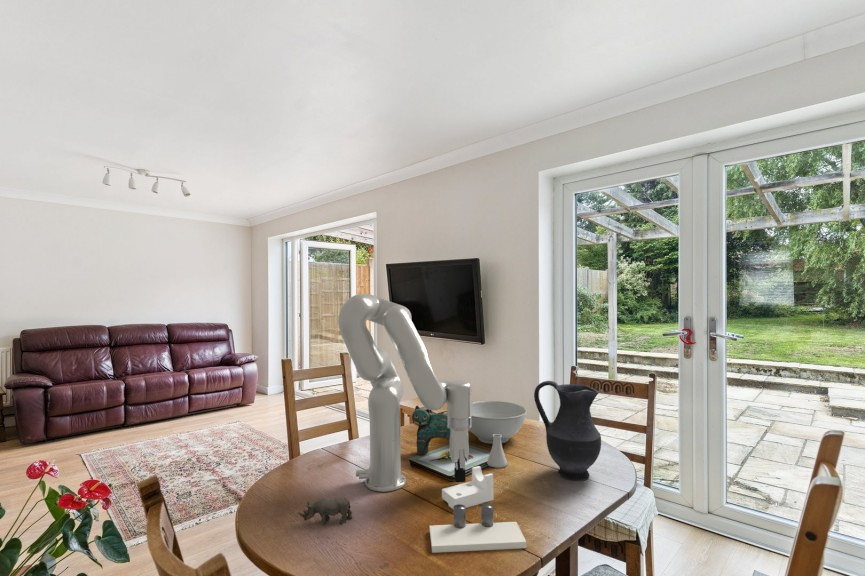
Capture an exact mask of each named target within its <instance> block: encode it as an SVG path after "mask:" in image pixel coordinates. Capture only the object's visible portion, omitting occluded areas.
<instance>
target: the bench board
mask: <svg viewBox="0 0 865 576" xmlns="http://www.w3.org/2000/svg"><path fill="white" fill-rule="evenodd" d="M429 536H430V544H431V545H430V546H431V553H433V554H435V553H455V552H457V553H458V552H475V551H495V550H497V551H498V550H513V549H514V550H515V549H518V550H519V549H527V540H526V538H525V536H524V534H523V533H522V530H521V527H520V526H519V524H518V522H517V521H503V522H493V526H492V527H484V526H482V524H481V522H480V523H478V522H477V523H466V526H465V527H464V528H456V527H454V524H438V525H437V524H436V525H429Z"/></svg>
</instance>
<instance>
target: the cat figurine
mask: <svg viewBox="0 0 865 576" xmlns="http://www.w3.org/2000/svg"><path fill="white" fill-rule="evenodd" d="M411 420H412V423H413V424H414V425H416V426H417V431H416V442H415V443H416V455H417V456H426V455H427V454H428V453H429V446H430V445H429V444H430V442H431V440H432V439H437V438H438V439H446V440H448V441H450V428H448V427H447V410H445V411H440V412H435V411H434V410H429V409H427V408H426V407H425V406H421V407H419V406H418V405H416V406H415V408H414V411H413V412H412V414H411Z"/></svg>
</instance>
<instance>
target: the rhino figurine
mask: <svg viewBox="0 0 865 576" xmlns="http://www.w3.org/2000/svg"><path fill="white" fill-rule="evenodd" d="M305 506H306V508H307V510H304V509H303V510H302V511H303V513H302V512H300V511H298V512H297V514H299V516H300V517H302V518H303V520H304V521H305V522H306V521H308V520H310V519H312V518H313V517H314V516H315V514H319V515H320V516H319V517H320V518H321V521H320V523H319V525H320V526H324V525H326V524H327V522H326V521H328V520H330V519H331V517H333V516H337V515H338V514H340V515H341V517H340V520H339V522H338V523H339V524H341V525H343V524H345V523H346V522H347V521H346V520H348V521H349V520H351V519H353V516H352V514H353V512H352V511H351V502H350V500H349V499H347V498H346V497H336V498H333V499H326V498H319V499H317V500H315V501H313V502H312V503H311V502H310V501H307V502H306V505H305ZM330 516H331V517H330Z"/></svg>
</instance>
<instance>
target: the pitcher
mask: <svg viewBox="0 0 865 576" xmlns="http://www.w3.org/2000/svg"><path fill="white" fill-rule="evenodd" d="M546 386H550V387H553V388H554V389H555V390H556V392H557V394H558V398H559V408H558V411H557V413H556V416H555V418H554V420H553V421H552V422H551V421H550V420H549V419H548V417H547V414H546V411H545V410H544V407H543V404H542V403H541V400H540V396H539V394H540V393H539V392H540V390H541V389H542V388H543V387H546ZM598 395H599V391H598V390H597V389H595V388H593V387H592V386H591V387H590V386H588V385H584V384H577V383H575V384H570V383H568V384H558V382H555V381H553V380H545V381H542V382H540V383H539V384H537V385H536V387H535V389H534V393H533V397H534V398H533V399H534V402H535V405H536V409H537V411H538V413H539V415H540V417H541V419H542V422H543V424H544V427H545V432H546V435H545V437H546V439H545V440H546V446H547V451H548V452H549V453H548V454H549V456H550V458H551V459H552V460H553V462H555V464H556V465H557V466H558V468H559V469H558V472H557V473H558V475H559V476H560V477H562V478H564V479H566V480H570V481H586V480H587V479H589V478H590V473H589V470H588V469H589V468H591V467H592V466H593V465H594V463H595V462H596V461H597V459H598V458H599V455H600V453H601V449H602V437H601V436H602V434H601V433H600V432H599V430H598V429H597V427H596V425H595V423H594V421H593V417H592V413H591V406H592V404H593V402H594V400H595V399H596V397H597V396H598Z"/></svg>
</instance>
